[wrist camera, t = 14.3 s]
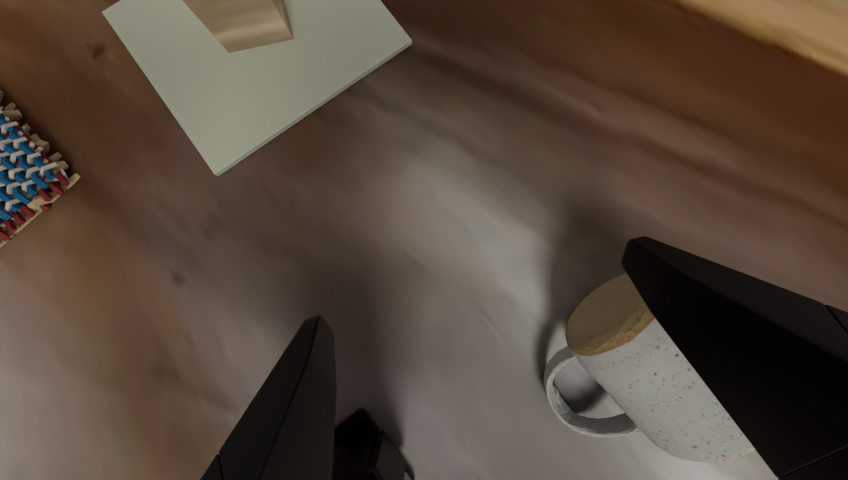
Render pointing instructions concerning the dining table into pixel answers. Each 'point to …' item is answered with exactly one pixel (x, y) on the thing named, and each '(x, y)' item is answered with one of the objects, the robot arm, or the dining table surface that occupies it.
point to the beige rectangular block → (244, 21)
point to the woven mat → (26, 174)
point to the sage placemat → (253, 68)
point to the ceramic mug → (642, 379)
